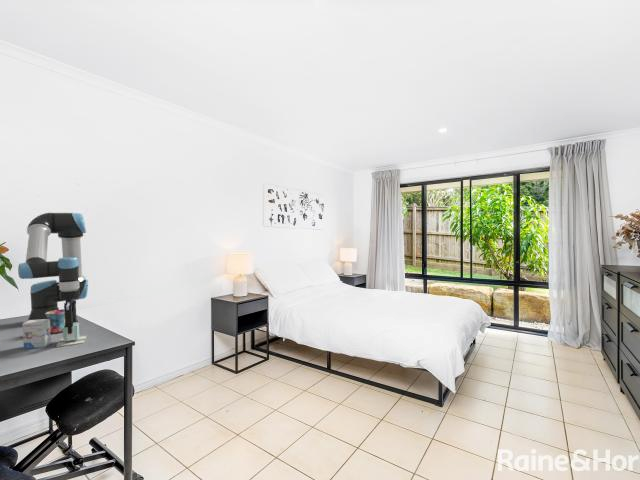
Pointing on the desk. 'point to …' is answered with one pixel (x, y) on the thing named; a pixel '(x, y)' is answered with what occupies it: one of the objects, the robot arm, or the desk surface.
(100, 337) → the desk surface
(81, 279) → the robot arm
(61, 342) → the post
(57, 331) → the mug
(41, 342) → the ink box
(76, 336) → the mint green block
